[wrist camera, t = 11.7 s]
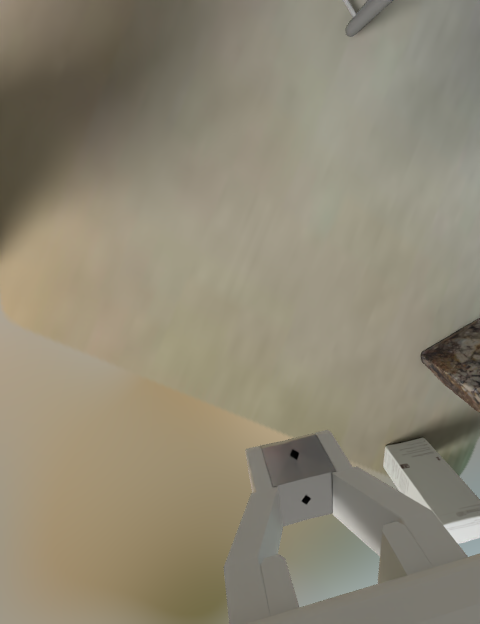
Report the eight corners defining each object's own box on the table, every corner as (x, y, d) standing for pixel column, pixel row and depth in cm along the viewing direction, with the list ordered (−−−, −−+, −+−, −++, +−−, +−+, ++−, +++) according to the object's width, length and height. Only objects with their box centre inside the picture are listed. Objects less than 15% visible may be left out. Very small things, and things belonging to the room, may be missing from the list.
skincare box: (423, 436, 58) (497, 511, 44) (420, 459, 60) (489, 537, 46) (382, 445, 57) (444, 525, 43) (380, 469, 59) (439, 552, 45)
